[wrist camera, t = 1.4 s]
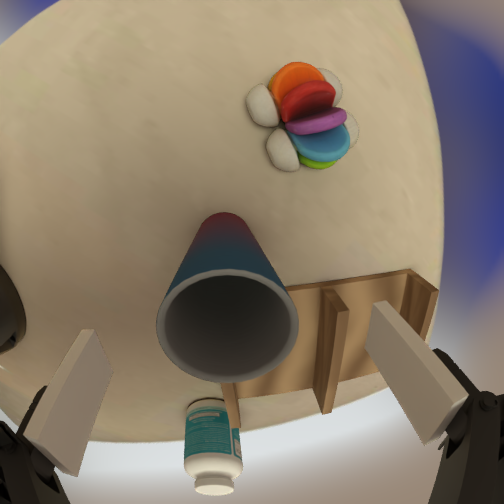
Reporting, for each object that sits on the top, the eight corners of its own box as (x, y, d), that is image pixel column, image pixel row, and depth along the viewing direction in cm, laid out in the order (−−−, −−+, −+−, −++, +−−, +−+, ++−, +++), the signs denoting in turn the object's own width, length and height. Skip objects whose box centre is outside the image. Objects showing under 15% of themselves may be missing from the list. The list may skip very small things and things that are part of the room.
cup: (272, 247, 27) (320, 345, 13) (214, 282, 28) (211, 398, 14) (235, 188, 25) (253, 238, 11) (174, 228, 26) (127, 315, 12)
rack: (228, 394, 34) (231, 428, 29) (211, 295, 28) (209, 328, 23) (387, 363, 36) (405, 389, 30) (410, 268, 30) (439, 290, 25)
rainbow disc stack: (317, 63, 21) (348, 39, 15) (354, 152, 25) (394, 155, 18) (236, 89, 22) (241, 66, 15) (277, 182, 25) (297, 194, 19)
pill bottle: (177, 412, 35) (171, 489, 22) (206, 389, 34) (206, 476, 21) (216, 429, 37) (219, 501, 25) (247, 409, 36) (258, 488, 23)
